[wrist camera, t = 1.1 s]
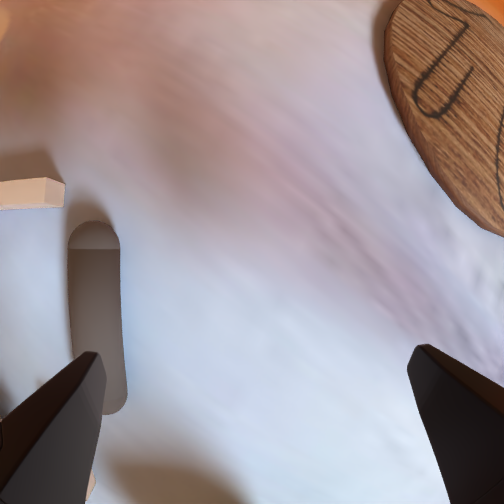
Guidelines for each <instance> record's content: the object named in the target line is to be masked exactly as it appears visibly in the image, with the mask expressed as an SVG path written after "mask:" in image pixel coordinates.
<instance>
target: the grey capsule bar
mask: <svg viewBox="0 0 504 504" xmlns="http://www.w3.org/2000/svg"><path fill="white" fill-rule="evenodd" d="M68 295H69V312H70V325H71V336H72V346H73V354H74V359H76V358H77V357H78V356H79V355H81V354H82V353H83V352H85V351H92V352H98V353H99V354H100V355H101V358H102V361H103V364H104V368H105V371H106V374H107V383H106V390H105V397H104V404H103V412H102V415H109V414H113V413H116V412H117V411H119V410H120V409H121V408H122V407H123V406H124V404H125V402H126V400H127V382H126V373H125V363H124V351H123V337H122V320H121V295H120V243H119V239H118V237H117V235H116V233H115V232H114V230H113V229H112V228H111V227H110V226H109V225H107V224H105V223H103V222H100V221H88V222H85V223H83V224H81V225H79V226H78V227H77V228H76V229H75V230H74V231H73V233H72V234H71V236H70V239H69V242H68Z"/></svg>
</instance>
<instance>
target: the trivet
mask: <svg viewBox="0 0 504 504" xmlns="http://www.w3.org/2000/svg"><path fill="white" fill-rule="evenodd" d="M384 63H385V67H386V71H387V76H388V80H389V85H390V89H391V94H392V97H393V99H394V102H395V104H396V106H397V109H398V111H399V113H400V116H401V118H402V121H403V123H404V126H405V128H406V131H407V133H408V136H409V138H410V139H411V141H412V143H413V144H414V146H415V148H416V149H417V151H418V153H419V154H420V156H421V158H422V160H423V161H424V163H425V165H426V167H427V168H428V170H429V172H430V174H431V175H432V177H433V178H434V179H435V180H436V182H437V183H438V184H439V185H440V187H441V188H442V189H443V190H444V192H445V193H446V194H447V195H448V197H449V198H450V199H451V201H452V202H453V203H454V205H455V206H456V207H457V208H458V209H459V210H461V211H462V212H463V213H464V214H465V215H467V216H468V217H469V218H470V219H471V220H473V221H474V222H475V223H476V224H477V225H478V226H479V227H481V228H482V229H485V230H487V231H490V232H492V233H494V234H497V235H499V236H501V237H504V27H503V26H502V25H501V24H500V23H499V22H498V21H497V20H496V19H494V18H493V17H492V16H490V15H489V14H487V13H486V12H485V11H483V10H482V9H480V8H479V7H478V6H476V5H474V4H472V3H470V2H468V1H466V0H404V1H402V2H401V3H400V4H399V5H398V7H397V8H396V9H395V10H394V12H393V13H392V16H391V18H390V20H389V22H388V25H387V27H386V29H385V31H384Z"/></svg>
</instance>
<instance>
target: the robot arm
mask: <svg viewBox="0 0 504 504" xmlns="http://www.w3.org/2000/svg"><path fill="white" fill-rule="evenodd" d="M407 373H408V376H409V380H410V383H411V386H412V390H413V393H414V397H415V400H416V404H417V407H418V411H419V414H420V417H421V419H422V422H423V424H424V427H425V430H426V432H427V435H428V438H429V440H430V443H431V446H432V449H433V452H434V454H435V457H436V460H437V463H438V466H439V469H440V472H441V475H442V478H443V481H444V484H445V487H446V490H447V493H448V497H449V500H450V503H451V504H504V388H503V387H502V386H500V385H498V384H497V383H495V382H493V381H492V380H490V379H488V378H486V377H485V376H483V375H481V374H480V373H478V372H476V371H474V370H473V369H471V368H469V367H468V366H466V365H464V364H463V363H461V362H459V361H457V360H456V359H454V358H452V357H451V356H449V355H447V354H445V353H444V352H442V351H440V350H439V349H437V348H435V347H433V346H432V345H430V344H422V345H418V346H416V347H415V349H414V351H413V354H412V356H411V358H410V360H409V363H408V365H407ZM106 383H107V374H106V371H105V368H104V364H103V361H102V358H101V355H100V354H99V353H98V352H92V351H85V352H83V353H82V354H81V355H79V356H78V357H77V358H76V359H74V360H73V361H72V362H71V363H70V364H68V365H67V366H66V367H65V368H63V369H62V370H61V371H60V372H58V373H57V374H56V375H55V376H54V377H52V378H51V379H50V380H49V381H47V382H46V383H45V384H44V385H43V386H41V387H40V388H39V389H38V390H37V391H35V392H34V393H33V394H32V395H31V396H29V397H28V398H27V399H26V400H25V401H23V402H22V403H21V404H20V405H19V406H17V407H16V408H15V409H14V410H13V411H11V412H10V413H9V414H8V415H7V416H6V417H4V418H3V419H2V420H1V422H0V504H85V500H86V495H87V489H88V484H89V479H90V474H91V469H92V464H93V459H94V455H95V450H96V446H97V441H98V437H99V432H100V427H101V420H102V412H103V404H104V397H105V390H106Z"/></svg>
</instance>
